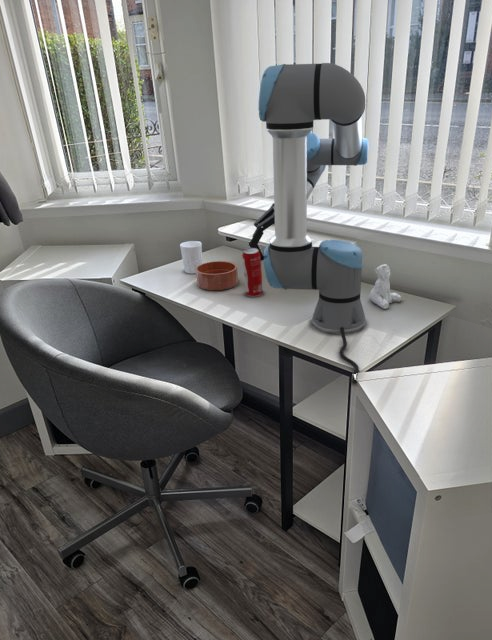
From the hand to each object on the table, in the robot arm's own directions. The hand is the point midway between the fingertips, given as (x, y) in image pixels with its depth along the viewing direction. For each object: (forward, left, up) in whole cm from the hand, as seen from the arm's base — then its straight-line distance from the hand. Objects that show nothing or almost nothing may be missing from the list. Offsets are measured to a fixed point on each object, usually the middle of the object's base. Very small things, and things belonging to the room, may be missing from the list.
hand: (265, 251), depth 176 cm
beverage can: (-5, +3, -13) cm, 14 cm away
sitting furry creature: (-7, -39, -13) cm, 41 cm away
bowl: (+3, +18, -13) cm, 23 cm away
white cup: (+16, +31, -13) cm, 38 cm away
